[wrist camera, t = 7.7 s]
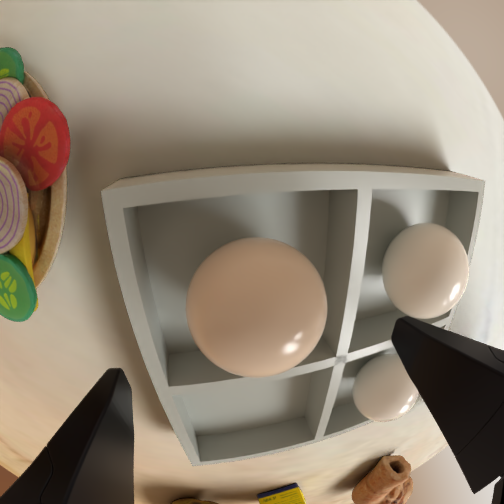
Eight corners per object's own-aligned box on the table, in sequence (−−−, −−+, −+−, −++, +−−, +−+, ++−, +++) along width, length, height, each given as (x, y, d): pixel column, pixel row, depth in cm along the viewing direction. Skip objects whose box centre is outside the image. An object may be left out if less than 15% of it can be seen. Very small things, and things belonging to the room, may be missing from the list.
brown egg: (297, 214, 13) (366, 263, 8) (294, 313, 15) (340, 385, 10) (176, 227, 12) (173, 291, 7) (192, 330, 14) (204, 416, 9)
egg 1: (403, 332, 18) (444, 374, 13) (387, 377, 20) (417, 417, 15) (347, 350, 17) (385, 404, 12) (335, 395, 19) (363, 444, 14)
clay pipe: (325, 483, 41) (381, 482, 41) (327, 523, 31) (387, 517, 31) (378, 439, 35) (435, 438, 35) (390, 489, 25) (450, 479, 25)
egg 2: (431, 210, 14) (494, 238, 10) (417, 282, 16) (468, 322, 12) (369, 213, 13) (439, 249, 9) (358, 297, 15) (409, 350, 11)
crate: (450, 171, 14) (485, 181, 12) (396, 381, 22) (413, 402, 19) (120, 178, 11) (100, 190, 8) (189, 435, 18) (192, 466, 16)
